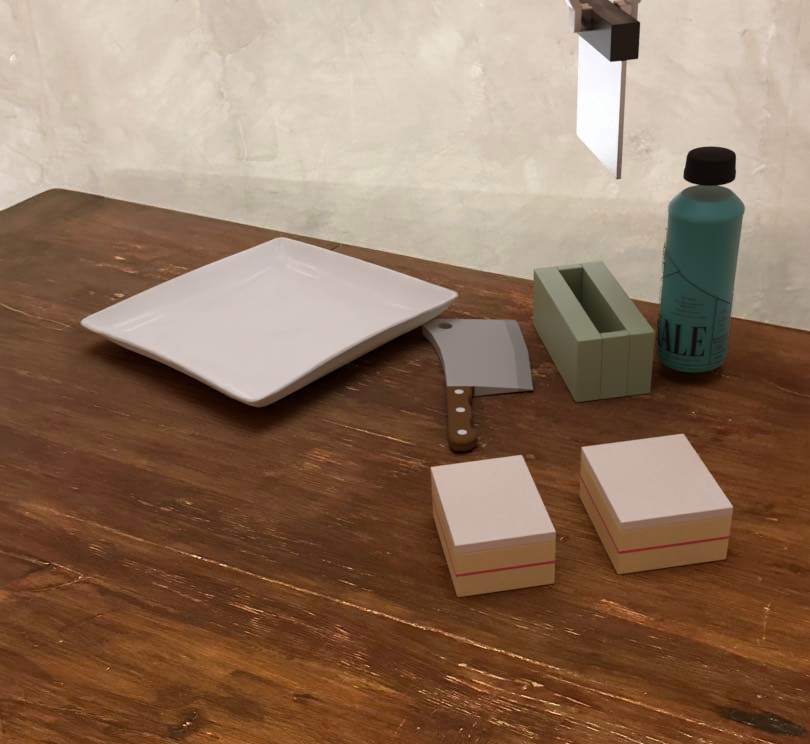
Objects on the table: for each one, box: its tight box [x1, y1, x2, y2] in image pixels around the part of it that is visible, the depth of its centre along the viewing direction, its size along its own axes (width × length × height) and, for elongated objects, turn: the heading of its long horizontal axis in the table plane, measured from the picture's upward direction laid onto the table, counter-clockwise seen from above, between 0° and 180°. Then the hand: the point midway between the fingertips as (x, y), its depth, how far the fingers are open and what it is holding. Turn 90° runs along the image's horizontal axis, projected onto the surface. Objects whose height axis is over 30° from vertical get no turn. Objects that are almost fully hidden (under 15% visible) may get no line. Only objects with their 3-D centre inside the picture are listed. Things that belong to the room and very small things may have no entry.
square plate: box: [80, 236, 459, 408], centre depth 112 cm, size 27×27×4 cm
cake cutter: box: [576, 0, 641, 180], centre depth 91 cm, size 2×12×12 cm, turn 8°
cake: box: [578, 433, 734, 575], centre depth 83 cm, size 8×10×5 cm
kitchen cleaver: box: [421, 318, 534, 452], centre depth 103 cm, size 24×1×10 cm
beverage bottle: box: [654, 145, 746, 373], centre depth 96 cm, size 6×7×20 cm
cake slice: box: [430, 454, 557, 598], centre depth 82 cm, size 7×10×5 cm
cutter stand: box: [532, 260, 656, 403], centre depth 104 cm, size 7×16×6 cm, turn 8°
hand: (602, 28), depth 88 cm, fingers closed on cake cutter, 2 cm apart
